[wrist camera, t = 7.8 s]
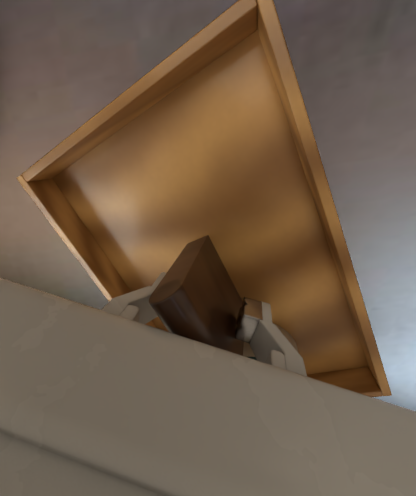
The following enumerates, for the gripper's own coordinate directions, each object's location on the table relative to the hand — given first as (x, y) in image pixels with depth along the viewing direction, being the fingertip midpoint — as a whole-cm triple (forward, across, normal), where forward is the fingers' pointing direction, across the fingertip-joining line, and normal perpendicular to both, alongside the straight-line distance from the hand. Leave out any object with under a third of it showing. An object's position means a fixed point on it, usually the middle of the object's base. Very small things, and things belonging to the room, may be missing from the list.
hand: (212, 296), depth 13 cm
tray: (+3, 0, 0) cm, 3 cm away
